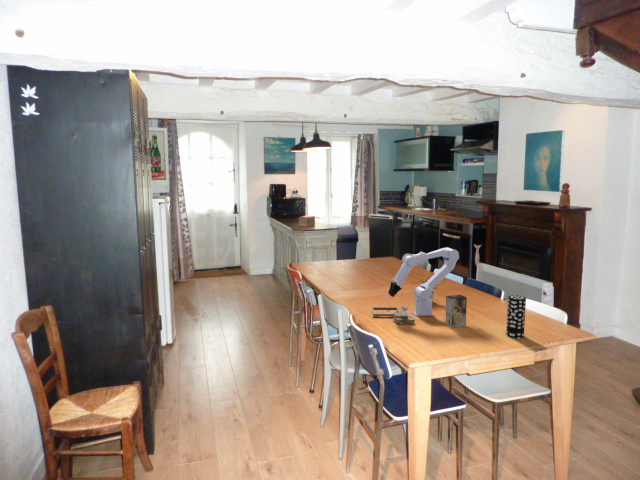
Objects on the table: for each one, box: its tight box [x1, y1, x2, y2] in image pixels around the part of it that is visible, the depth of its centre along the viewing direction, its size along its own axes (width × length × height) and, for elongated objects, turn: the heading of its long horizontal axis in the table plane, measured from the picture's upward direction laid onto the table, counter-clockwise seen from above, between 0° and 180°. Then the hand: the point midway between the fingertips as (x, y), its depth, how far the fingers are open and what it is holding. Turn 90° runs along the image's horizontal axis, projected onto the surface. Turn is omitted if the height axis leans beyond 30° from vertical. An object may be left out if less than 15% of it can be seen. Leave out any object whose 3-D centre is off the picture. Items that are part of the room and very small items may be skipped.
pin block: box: [393, 313, 416, 325], centre depth 258 cm, size 10×10×2 cm
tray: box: [370, 306, 402, 317], centre depth 272 cm, size 16×14×2 cm
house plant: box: [421, 277, 440, 303], centre depth 296 cm, size 14×14×16 cm
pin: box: [400, 306, 409, 318], centre depth 258 cm, size 4×4×8 cm
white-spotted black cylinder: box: [505, 294, 527, 339], centre depth 233 cm, size 8×8×20 cm
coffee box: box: [445, 294, 468, 328], centre depth 250 cm, size 9×6×16 cm
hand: (390, 295), depth 266 cm, fingers open, 7 cm apart
